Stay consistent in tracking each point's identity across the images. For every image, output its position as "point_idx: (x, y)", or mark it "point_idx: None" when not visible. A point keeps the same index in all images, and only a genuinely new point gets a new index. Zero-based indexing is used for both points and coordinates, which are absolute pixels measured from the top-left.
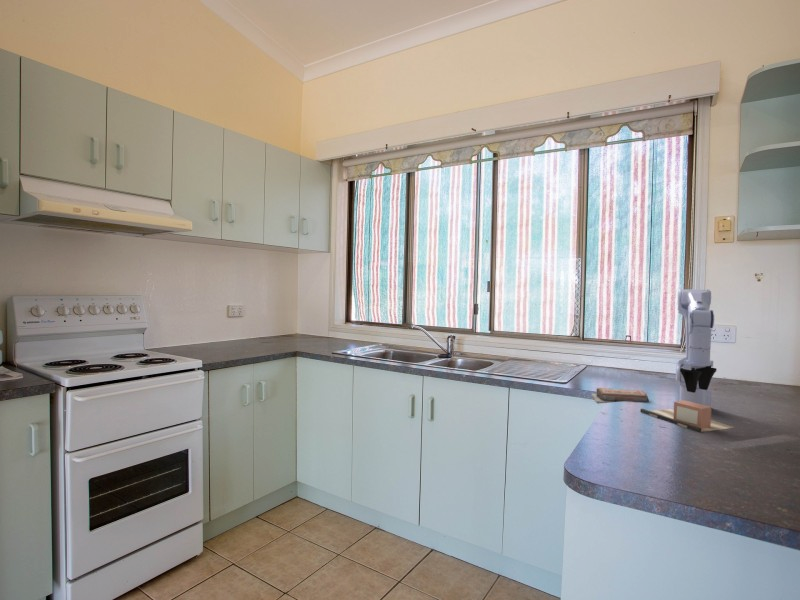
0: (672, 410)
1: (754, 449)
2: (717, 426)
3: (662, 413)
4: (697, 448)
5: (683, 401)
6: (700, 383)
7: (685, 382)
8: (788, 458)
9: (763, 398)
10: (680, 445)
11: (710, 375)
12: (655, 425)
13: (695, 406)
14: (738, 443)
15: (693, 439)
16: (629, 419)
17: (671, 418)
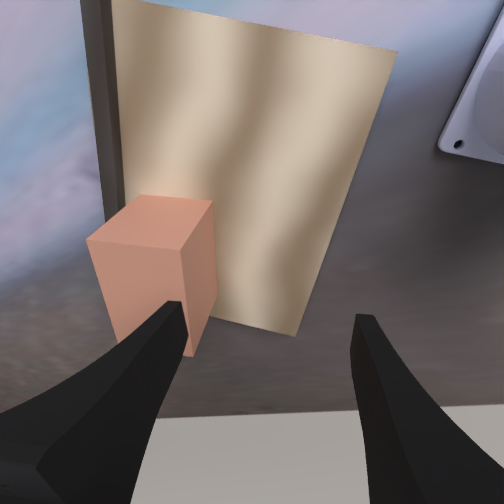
0: (332, 77)
1: (188, 374)
2: (247, 305)
3: (201, 90)
4: (50, 310)
5: (149, 260)
6: (363, 355)
7: (119, 345)
8: (201, 412)
9: None
10: (19, 282)
11: (371, 499)
12: (77, 144)
13: (125, 322)
14: None
15: (96, 282)
16: (6, 10)
17: (113, 201)
